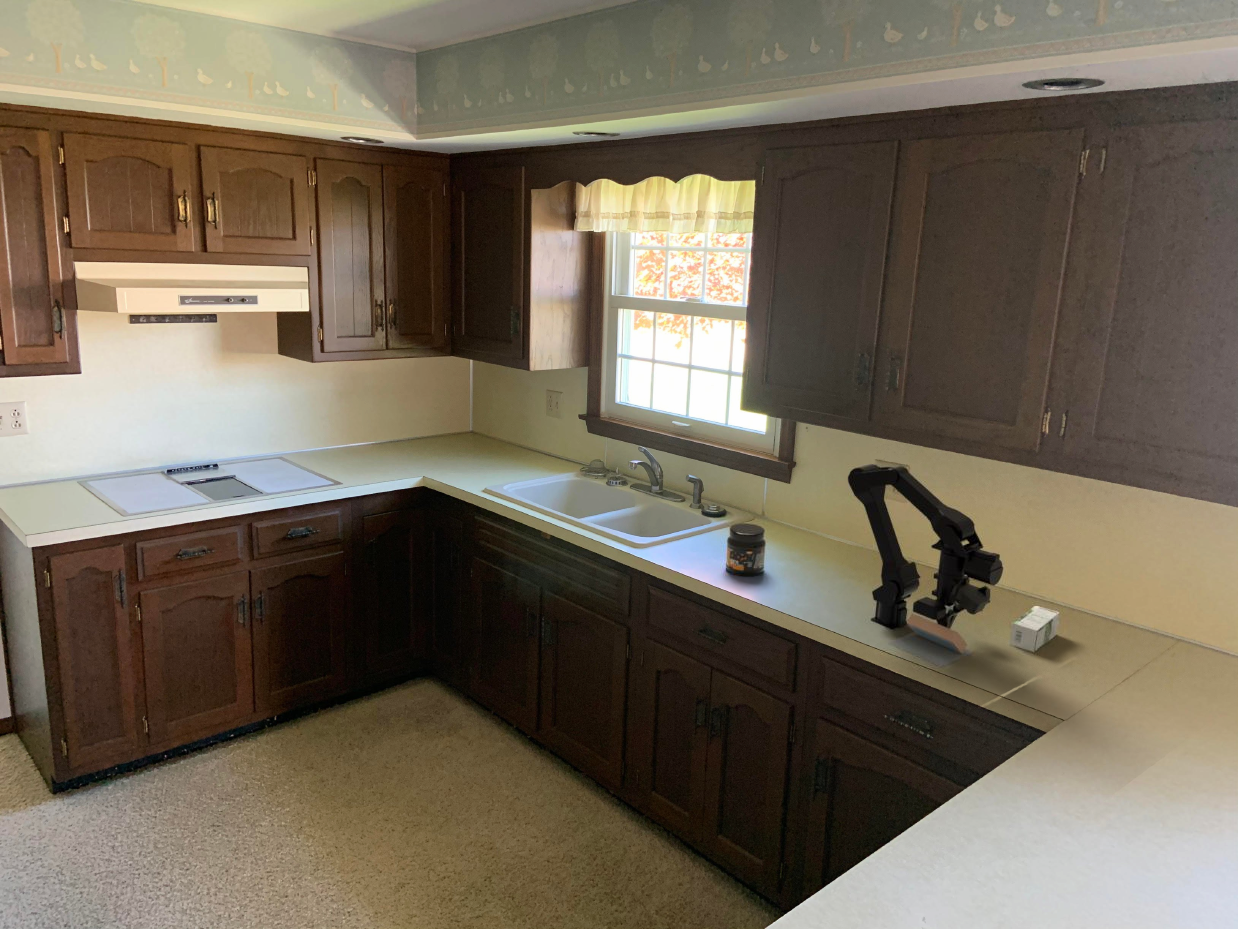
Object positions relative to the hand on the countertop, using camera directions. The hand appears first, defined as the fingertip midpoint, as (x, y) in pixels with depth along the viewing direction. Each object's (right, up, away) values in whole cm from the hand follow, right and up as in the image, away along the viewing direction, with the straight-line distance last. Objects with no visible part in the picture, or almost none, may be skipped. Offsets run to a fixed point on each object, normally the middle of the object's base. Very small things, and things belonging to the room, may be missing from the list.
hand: (944, 634), depth 207 cm
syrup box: (+17, 0, -3) cm, 17 cm away
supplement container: (-40, +10, +42) cm, 58 cm away
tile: (-1, -1, 0) cm, 1 cm away
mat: (-4, -3, -2) cm, 6 cm away
